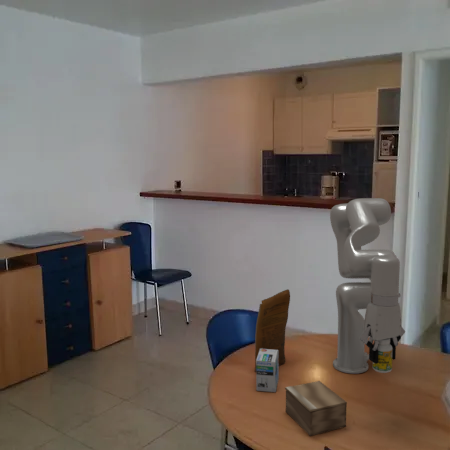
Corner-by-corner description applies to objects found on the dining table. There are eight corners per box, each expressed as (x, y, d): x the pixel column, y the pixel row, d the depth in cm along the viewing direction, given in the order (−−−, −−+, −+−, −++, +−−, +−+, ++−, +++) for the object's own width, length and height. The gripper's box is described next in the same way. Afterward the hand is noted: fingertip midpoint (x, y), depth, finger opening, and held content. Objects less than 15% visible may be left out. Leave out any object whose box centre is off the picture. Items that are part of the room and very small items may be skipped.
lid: (319, 382, 153) (319, 380, 153) (346, 403, 140) (346, 401, 140) (285, 389, 149) (285, 387, 148) (310, 411, 136) (310, 409, 135)
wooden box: (319, 403, 154) (319, 382, 153) (346, 426, 141) (346, 403, 140) (285, 411, 150) (285, 390, 149) (310, 436, 137) (310, 412, 136)
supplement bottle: (391, 366, 143) (392, 335, 141) (392, 374, 138) (393, 342, 136) (372, 364, 145) (373, 333, 143) (372, 372, 139) (373, 340, 138)
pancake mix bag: (295, 361, 185) (296, 289, 181) (261, 377, 172) (260, 300, 168) (282, 356, 190) (282, 286, 186) (247, 371, 177) (246, 296, 173)
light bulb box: (276, 393, 161) (275, 362, 160) (255, 391, 163) (255, 360, 161) (279, 378, 172) (279, 349, 170) (260, 376, 173) (259, 347, 172)
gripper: (398, 291, 145) (396, 349, 147) (350, 299, 138) (349, 360, 141) (417, 298, 138) (414, 359, 141) (368, 307, 131) (366, 370, 134)
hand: (382, 359), depth 141 cm, fingers closed on supplement bottle, 5 cm apart
